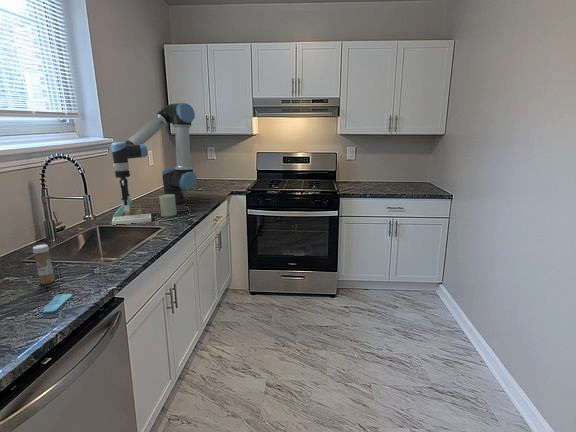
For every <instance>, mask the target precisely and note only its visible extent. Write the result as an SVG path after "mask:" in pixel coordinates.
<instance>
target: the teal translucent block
mask: <svg viewBox="0 0 576 432" xmlns="http://www.w3.org/2000/svg"><path fill="white" fill-rule="evenodd" d="M137 207H138V208H132V209H131V208H129V209H130V211H125V212H124V216H130V215H140V214H143V211H142V210H143V209H142V203H138V204H137Z"/></svg>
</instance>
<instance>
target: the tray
mask: <svg viewBox="0 0 576 432" xmlns="http://www.w3.org/2000/svg"><path fill="white" fill-rule="evenodd" d="M151 222H152V213H142V214H140V215H130V216H125V215H123V216H122V215H121V216H120V217H113V216H112V220H111V226H112V225H116V224H126V225H132V224H131V223H136V224H143V223H151Z"/></svg>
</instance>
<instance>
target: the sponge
mask: <svg viewBox="0 0 576 432" xmlns="http://www.w3.org/2000/svg"><path fill="white" fill-rule="evenodd" d="M73 296H74V293H63V294H56V295H55V296H54V297H53V298H52V299H51V300H50V301H49V302H48V303H47V304H46V306H44V307H43V311H42V312H41V313H42V315H47V314H56V313H58V311H60V310H61V309H62V308H63V306H65V304H67V303H68V301H69V300H70V299H71V298H73Z"/></svg>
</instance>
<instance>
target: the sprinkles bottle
mask: <svg viewBox="0 0 576 432" xmlns="http://www.w3.org/2000/svg"><path fill="white" fill-rule="evenodd" d="M32 253H33V255H34V258H35V262H36V263H35V264H36V268H37V269H36V270H37V274H38V278H39V279H38V280H39V283H40V284H41V285H47V284H52V283H53V282H54V281H55V280H56V279H55V275H54V271H53V266H52V260H51V256H50V248H49V245H48V244H37V245H35V246H33V247H32Z"/></svg>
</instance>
